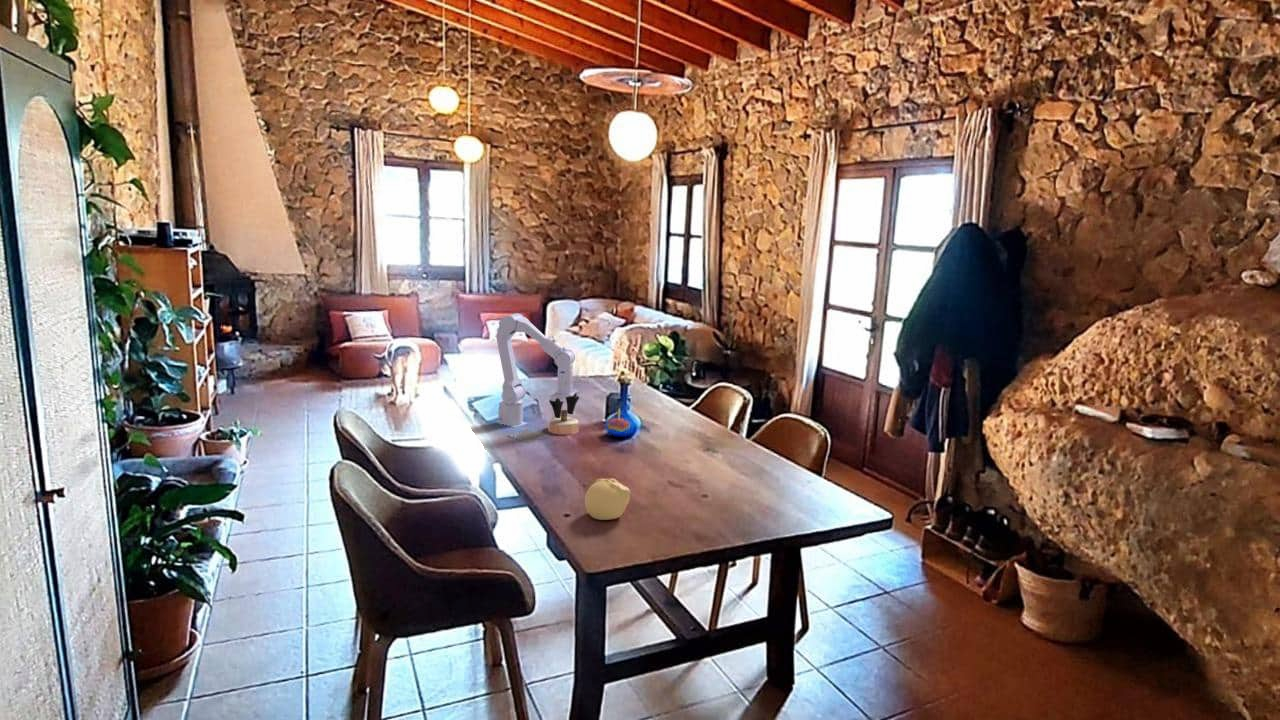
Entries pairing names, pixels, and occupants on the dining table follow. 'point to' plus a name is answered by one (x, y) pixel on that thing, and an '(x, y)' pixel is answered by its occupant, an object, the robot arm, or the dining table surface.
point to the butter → (607, 499)
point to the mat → (529, 435)
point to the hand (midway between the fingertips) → (563, 415)
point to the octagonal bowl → (563, 429)
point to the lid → (564, 420)
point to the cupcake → (619, 423)
